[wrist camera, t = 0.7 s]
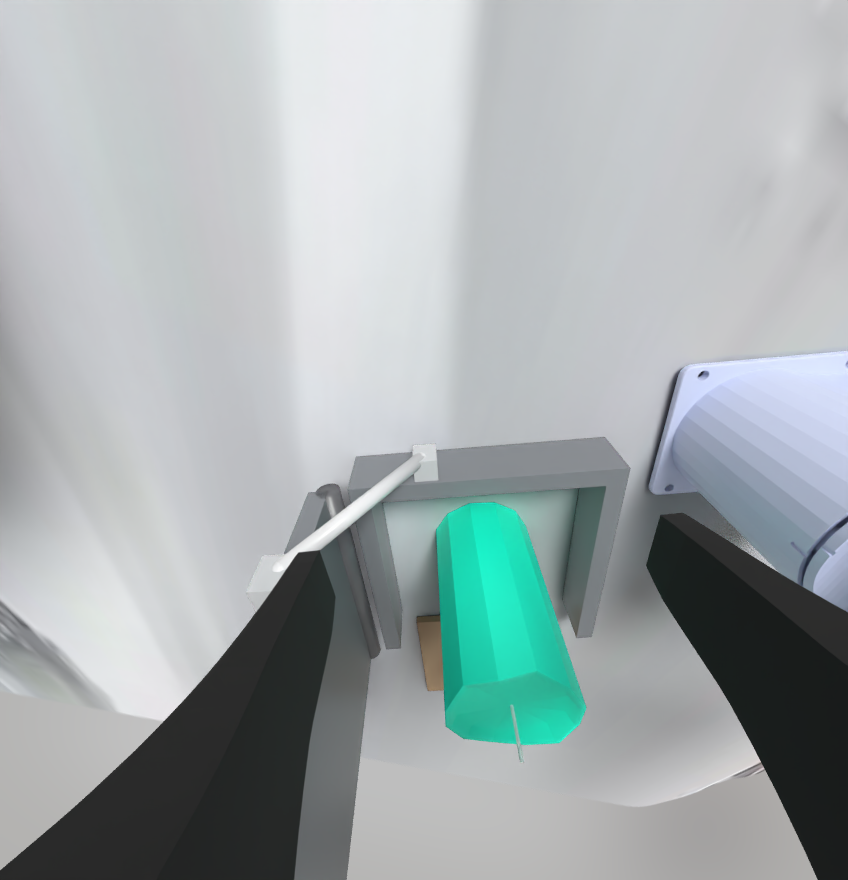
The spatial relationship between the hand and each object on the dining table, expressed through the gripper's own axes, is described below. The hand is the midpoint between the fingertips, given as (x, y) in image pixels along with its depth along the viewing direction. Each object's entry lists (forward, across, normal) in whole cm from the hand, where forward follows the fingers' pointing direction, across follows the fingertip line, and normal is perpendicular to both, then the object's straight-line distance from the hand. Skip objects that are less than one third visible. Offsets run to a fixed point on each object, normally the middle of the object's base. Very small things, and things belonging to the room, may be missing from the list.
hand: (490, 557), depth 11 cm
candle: (+11, -1, +10) cm, 15 cm away
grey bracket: (+11, 0, +9) cm, 14 cm away
